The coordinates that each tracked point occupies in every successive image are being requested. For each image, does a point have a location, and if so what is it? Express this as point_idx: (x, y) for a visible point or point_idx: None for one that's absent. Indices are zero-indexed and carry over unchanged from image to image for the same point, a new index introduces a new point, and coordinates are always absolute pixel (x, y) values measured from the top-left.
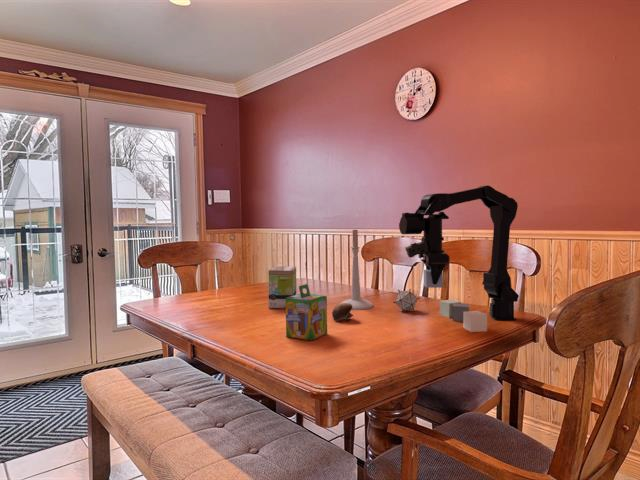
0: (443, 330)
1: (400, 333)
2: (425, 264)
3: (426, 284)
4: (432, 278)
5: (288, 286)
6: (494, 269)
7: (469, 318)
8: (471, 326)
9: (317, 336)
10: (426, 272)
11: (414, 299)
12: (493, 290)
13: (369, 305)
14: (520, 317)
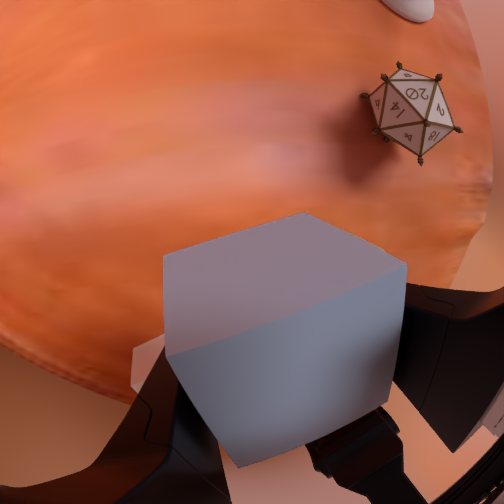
0: (113, 270)
1: (29, 127)
2: (472, 316)
3: (163, 267)
4: (156, 362)
5: None
6: (379, 486)
7: (140, 372)
8: (133, 360)
9: None
10: (166, 350)
11: (407, 142)
12: (329, 443)
13: (394, 3)
14: None
